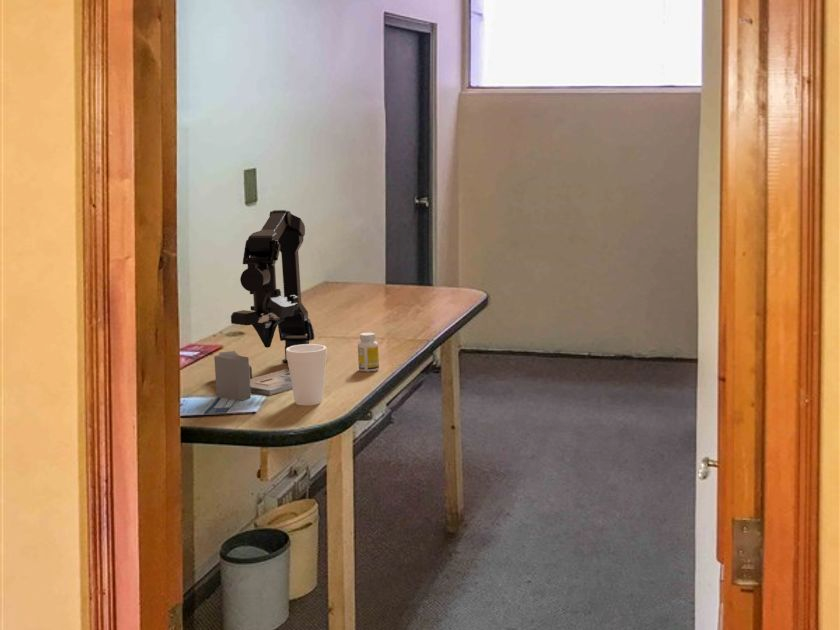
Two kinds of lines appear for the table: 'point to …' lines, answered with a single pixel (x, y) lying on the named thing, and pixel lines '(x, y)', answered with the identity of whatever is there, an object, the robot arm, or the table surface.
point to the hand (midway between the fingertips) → (267, 347)
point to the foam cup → (307, 372)
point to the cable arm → (239, 355)
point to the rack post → (232, 376)
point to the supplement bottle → (368, 353)
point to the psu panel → (272, 382)
